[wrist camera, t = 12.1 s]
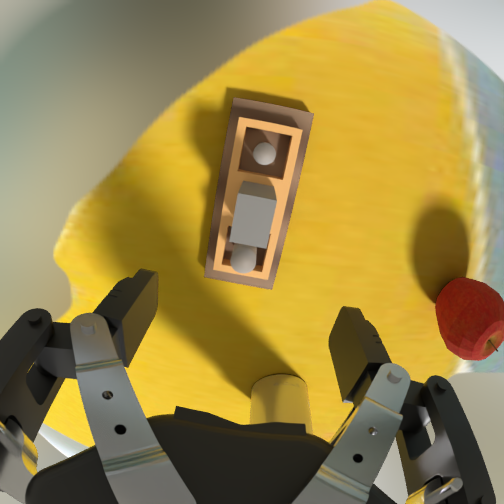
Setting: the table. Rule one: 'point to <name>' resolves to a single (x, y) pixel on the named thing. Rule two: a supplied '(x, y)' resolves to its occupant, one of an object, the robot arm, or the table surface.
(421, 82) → the table surface
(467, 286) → the apple
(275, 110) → the pin board
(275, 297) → the table surface
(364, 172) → the table surface
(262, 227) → the hole bar
